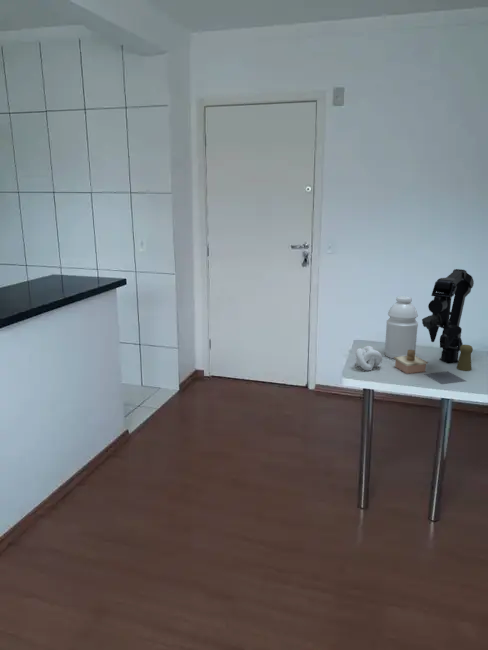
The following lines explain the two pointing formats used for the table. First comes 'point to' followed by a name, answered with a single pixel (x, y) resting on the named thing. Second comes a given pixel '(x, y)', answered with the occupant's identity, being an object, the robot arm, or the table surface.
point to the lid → (410, 359)
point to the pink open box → (410, 368)
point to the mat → (445, 377)
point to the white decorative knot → (368, 358)
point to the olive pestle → (465, 358)
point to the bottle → (401, 328)
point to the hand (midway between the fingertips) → (439, 345)
